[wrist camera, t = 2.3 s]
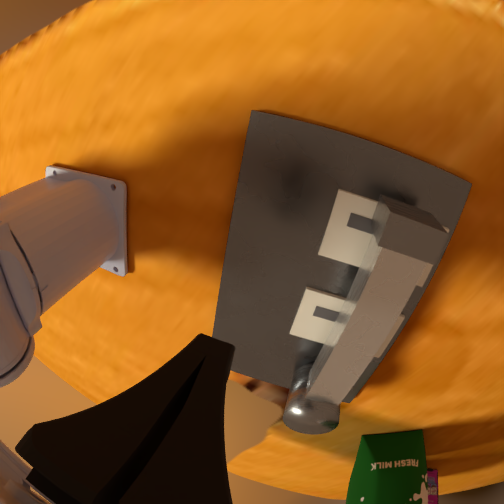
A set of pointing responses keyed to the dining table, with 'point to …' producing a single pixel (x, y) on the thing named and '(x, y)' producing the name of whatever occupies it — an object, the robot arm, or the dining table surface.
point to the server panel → (308, 235)
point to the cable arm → (365, 313)
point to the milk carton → (390, 470)
